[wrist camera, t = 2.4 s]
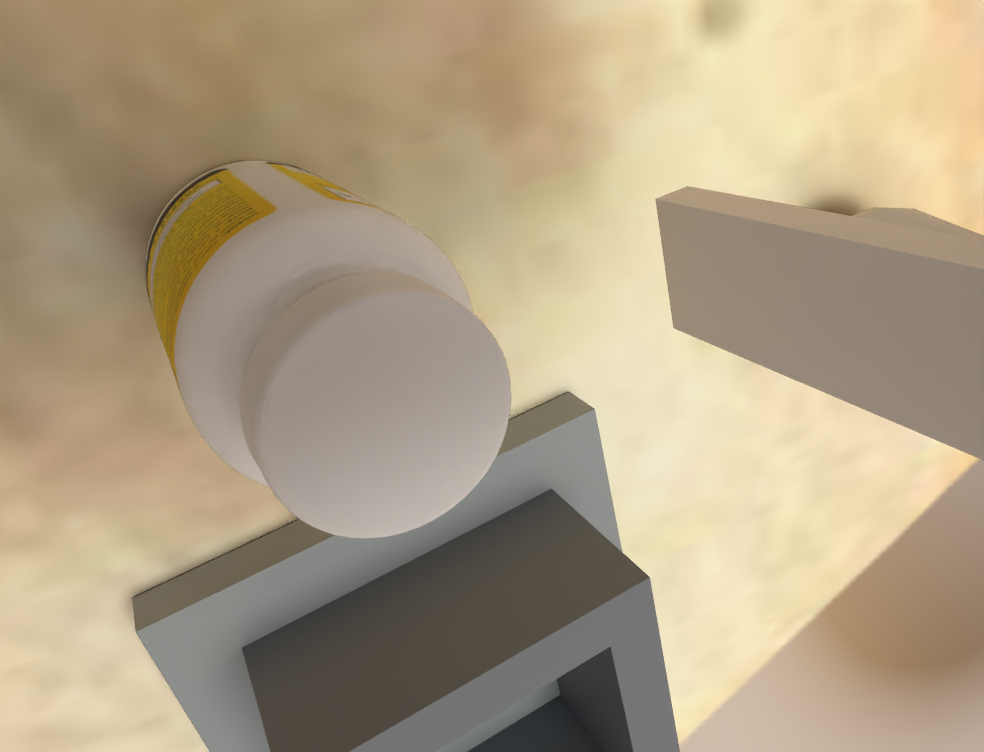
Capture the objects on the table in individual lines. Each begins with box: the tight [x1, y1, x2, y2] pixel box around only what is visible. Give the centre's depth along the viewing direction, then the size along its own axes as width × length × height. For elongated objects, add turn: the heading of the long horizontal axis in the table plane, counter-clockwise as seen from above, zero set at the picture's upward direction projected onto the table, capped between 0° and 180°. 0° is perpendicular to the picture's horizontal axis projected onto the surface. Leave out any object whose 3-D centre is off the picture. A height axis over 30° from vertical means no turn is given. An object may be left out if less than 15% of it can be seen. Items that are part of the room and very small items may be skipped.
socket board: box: [132, 392, 680, 752], centre depth 24 cm, size 14×14×6 cm
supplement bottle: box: [145, 160, 511, 538], centre depth 15 cm, size 5×5×10 cm
